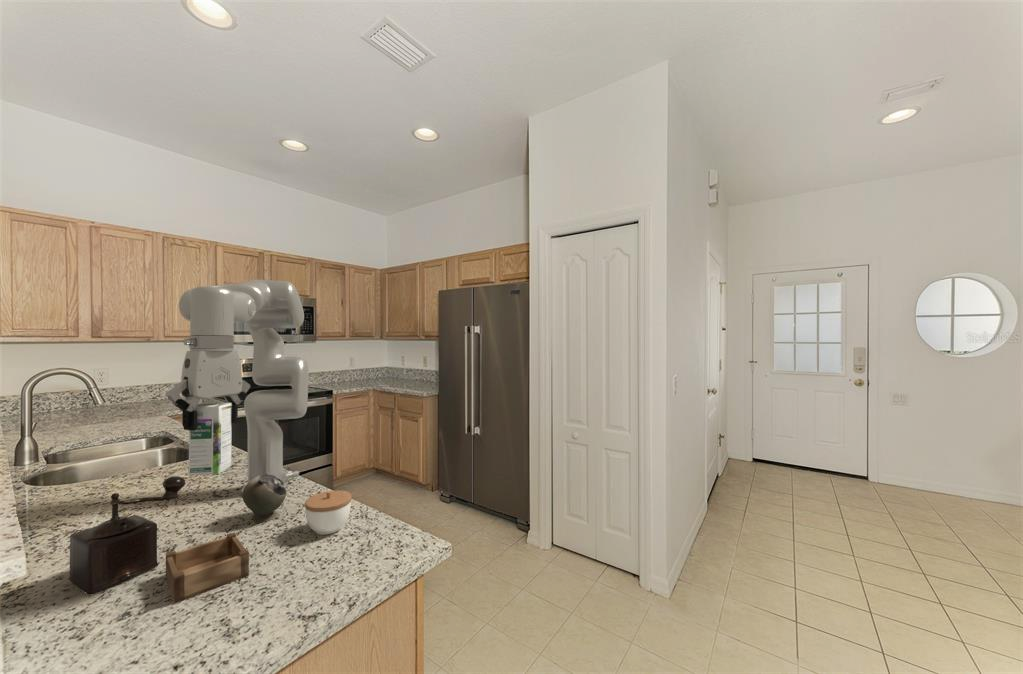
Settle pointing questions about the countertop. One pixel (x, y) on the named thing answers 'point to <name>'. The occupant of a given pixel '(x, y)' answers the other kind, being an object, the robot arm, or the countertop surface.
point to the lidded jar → (328, 511)
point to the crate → (206, 567)
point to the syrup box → (211, 439)
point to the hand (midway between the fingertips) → (211, 425)
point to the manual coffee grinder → (117, 545)
